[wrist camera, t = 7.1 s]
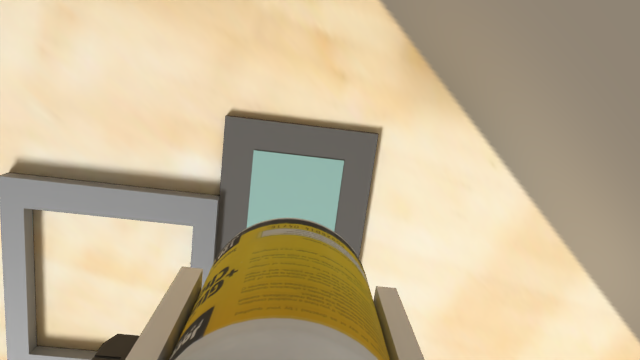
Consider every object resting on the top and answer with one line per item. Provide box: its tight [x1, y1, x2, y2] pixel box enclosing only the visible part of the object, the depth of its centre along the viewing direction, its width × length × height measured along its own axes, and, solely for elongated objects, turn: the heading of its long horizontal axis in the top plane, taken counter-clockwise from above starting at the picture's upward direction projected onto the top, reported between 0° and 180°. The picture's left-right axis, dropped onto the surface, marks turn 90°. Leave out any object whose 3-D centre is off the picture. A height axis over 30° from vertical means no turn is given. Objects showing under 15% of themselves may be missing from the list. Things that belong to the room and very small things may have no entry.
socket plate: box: [0, 173, 220, 360], centre depth 32 cm, size 15×14×1 cm
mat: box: [215, 115, 378, 259], centre depth 31 cm, size 10×10×1 cm
